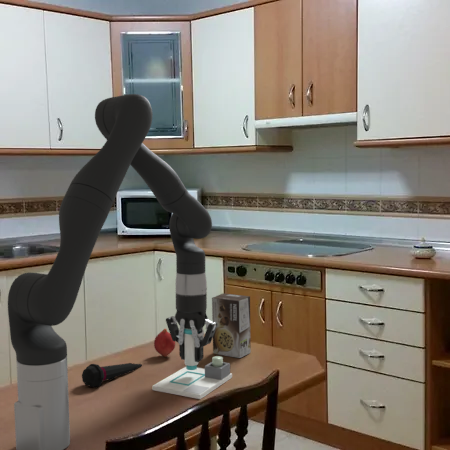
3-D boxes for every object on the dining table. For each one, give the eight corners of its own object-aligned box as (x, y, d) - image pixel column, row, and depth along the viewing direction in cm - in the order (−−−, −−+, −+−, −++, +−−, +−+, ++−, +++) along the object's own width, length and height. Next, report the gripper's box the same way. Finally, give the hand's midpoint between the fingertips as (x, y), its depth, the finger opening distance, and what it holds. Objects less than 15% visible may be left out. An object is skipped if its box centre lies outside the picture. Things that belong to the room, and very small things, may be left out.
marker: (194, 371, 155) (193, 330, 154) (181, 369, 157) (181, 328, 156) (201, 367, 158) (201, 326, 157) (189, 365, 160) (188, 325, 159)
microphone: (135, 377, 169) (79, 391, 153) (131, 355, 170) (75, 367, 154) (150, 374, 166) (95, 388, 150) (147, 352, 167) (91, 363, 151)
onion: (150, 359, 174) (150, 330, 173) (159, 352, 180) (158, 324, 179) (170, 360, 173) (170, 331, 172) (178, 354, 178) (178, 326, 177)
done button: (219, 369, 156) (219, 360, 156) (210, 368, 157) (210, 358, 157) (224, 366, 158) (224, 357, 158) (215, 365, 159) (215, 355, 159)
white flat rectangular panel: (200, 399, 145) (200, 394, 145) (152, 389, 151) (152, 384, 151) (232, 377, 160) (232, 372, 159) (187, 369, 165) (187, 365, 165)
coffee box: (251, 352, 179) (251, 296, 178) (239, 358, 174) (239, 300, 172) (224, 347, 184) (223, 292, 182) (211, 353, 179) (211, 296, 177)
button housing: (221, 380, 155) (221, 368, 154) (204, 377, 157) (204, 366, 157) (230, 374, 159) (230, 363, 159) (213, 371, 161) (213, 360, 161)
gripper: (158, 290, 155) (158, 360, 157) (209, 296, 149) (209, 368, 151) (174, 285, 162) (175, 352, 164) (224, 290, 155) (224, 360, 157)
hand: (191, 359), depth 157 cm, fingers closed on marker, 3 cm apart
